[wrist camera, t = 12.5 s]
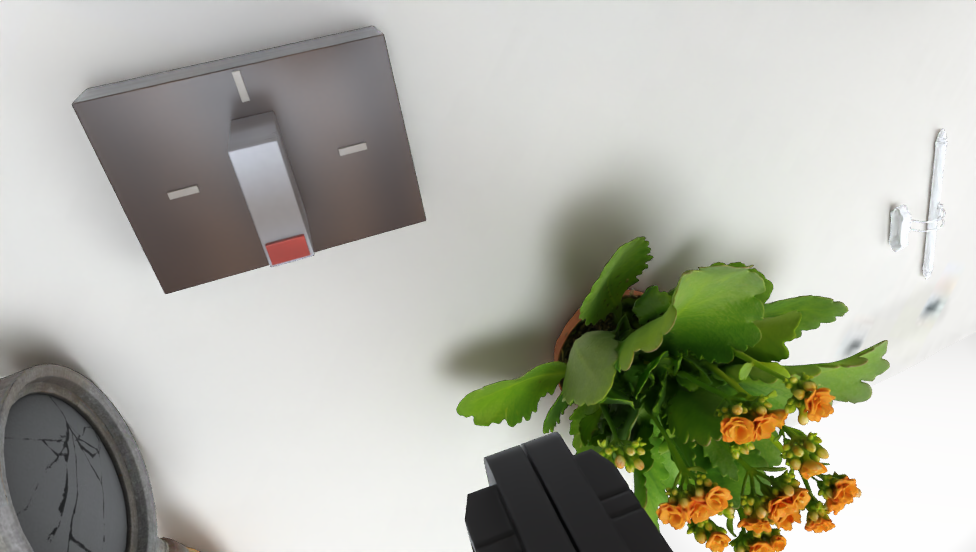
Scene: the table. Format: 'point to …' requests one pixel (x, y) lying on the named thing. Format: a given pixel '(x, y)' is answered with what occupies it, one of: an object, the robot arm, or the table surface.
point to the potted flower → (696, 397)
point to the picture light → (903, 216)
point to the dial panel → (207, 166)
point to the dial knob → (270, 188)
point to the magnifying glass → (71, 470)
